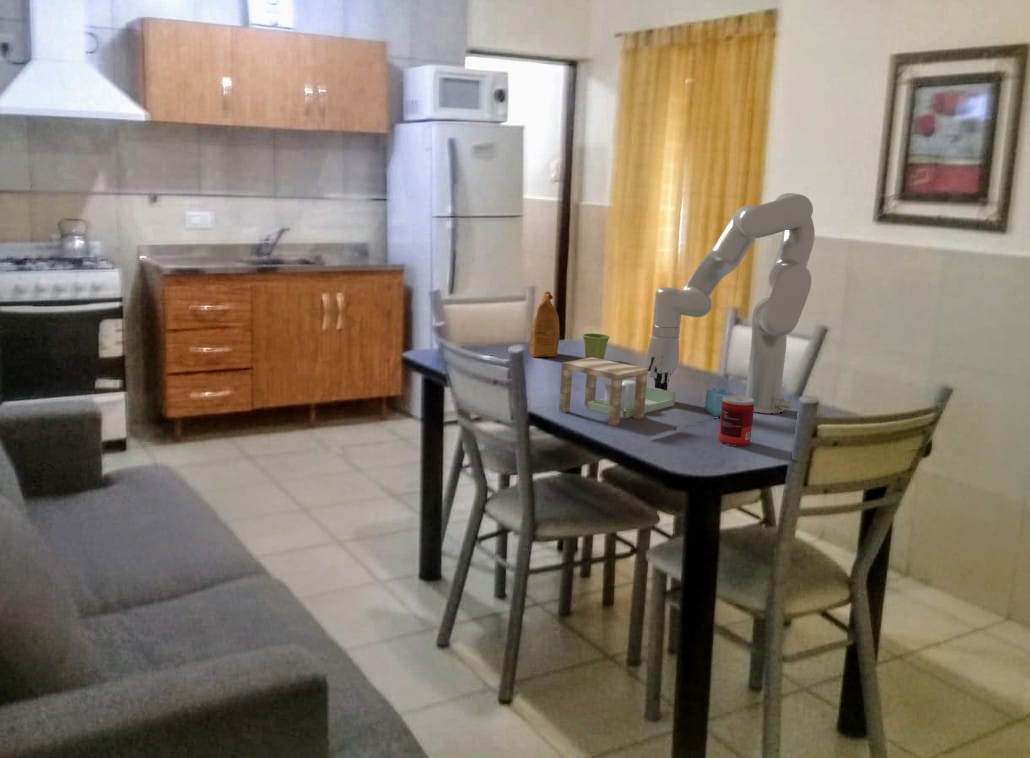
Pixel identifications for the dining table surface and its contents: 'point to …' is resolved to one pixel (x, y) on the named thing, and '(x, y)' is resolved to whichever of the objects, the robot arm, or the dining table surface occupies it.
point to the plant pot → (595, 345)
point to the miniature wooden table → (616, 374)
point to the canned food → (736, 420)
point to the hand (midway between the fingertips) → (660, 396)
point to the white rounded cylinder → (607, 396)
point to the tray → (652, 402)
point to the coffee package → (545, 329)
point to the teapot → (715, 400)
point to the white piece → (629, 394)
